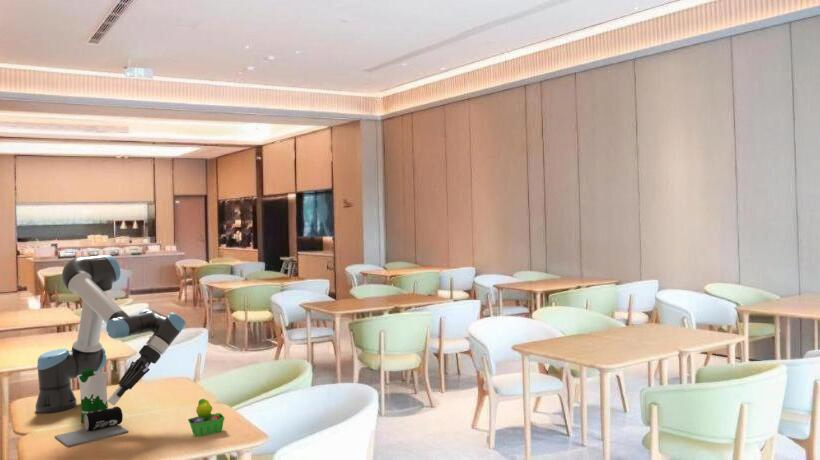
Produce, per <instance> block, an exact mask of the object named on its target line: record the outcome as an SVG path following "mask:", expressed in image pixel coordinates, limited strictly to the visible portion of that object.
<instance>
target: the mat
mask: <svg viewBox="0 0 820 460" xmlns="http://www.w3.org/2000/svg"><path fill="white" fill-rule="evenodd" d="M126 433H129V430H128V429H126V428H124V427H122V426H121V425H120V424H118V425H114V426H109V427H105V428H101V429H96V430H92V431H91V430H86V429H85V428H83V429H77V430H74V431H70V432H66V433H61V434H57V435H54V438H55V439H56V440H58V441H59V442H60V443H62V445H64V446H66V447H67V448H71V447H76V446H78V445H83V444H88V443H92V442H94V441H98V440H103V439H106V438H107V439H108V438H111V437H114V436H120V435H122V434H126Z"/></svg>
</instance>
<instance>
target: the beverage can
mask: <svg viewBox="0 0 820 460" xmlns="http://www.w3.org/2000/svg"><path fill="white" fill-rule="evenodd" d="M123 416H124V415H123V411H122V408H121V407H119V406H116V405H115V406H112V407H108V408H107V409H102V410H97V411H93V412H89V413H87V414H85V415H84V423H83V424H84V429H86V430H91V431H92V430H96V429H101V428H105V427H109V426H114V425H120V424H121V423H122V422H123V418H124V417H123Z"/></svg>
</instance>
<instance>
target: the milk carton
mask: <svg viewBox="0 0 820 460" xmlns="http://www.w3.org/2000/svg"><path fill="white" fill-rule="evenodd" d="M108 373H109V372H106V371H105V372H104V371H99V372H94V370H93V369H86V370H82V375H79V376H77V378H76V379H77V381H78V385H79V389H80V390H79V392H80V393H79V395H80V407H81V409H80V410H81V419H80V420H81V422H80V423H82V424H84V415H85V414H87V413H89V412H93V411H97V410H102V409H107V408H109V405H108V403H109V402H108V392H107V391H108V390H107V389H108V387H107V381H108V380H107V379H108Z"/></svg>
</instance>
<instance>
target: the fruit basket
mask: <svg viewBox="0 0 820 460" xmlns="http://www.w3.org/2000/svg"><path fill="white" fill-rule="evenodd" d="M212 411H213V406H212V405H211V404H210V402H209V400H207V399H206V398H201V399H199V400H198V405H197V408H196V415H197V416H196V417H191V418H188V419H187V420H188V423H189V425H190V428H191V432H192V434H193V436H195V437H201V436H206V435H211V434H212V435H213V434H217V433H222V431H223V425H224V421H225V418H226V417H225V416H224V415H223V414H222V413H221V412H216V413H212Z"/></svg>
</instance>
